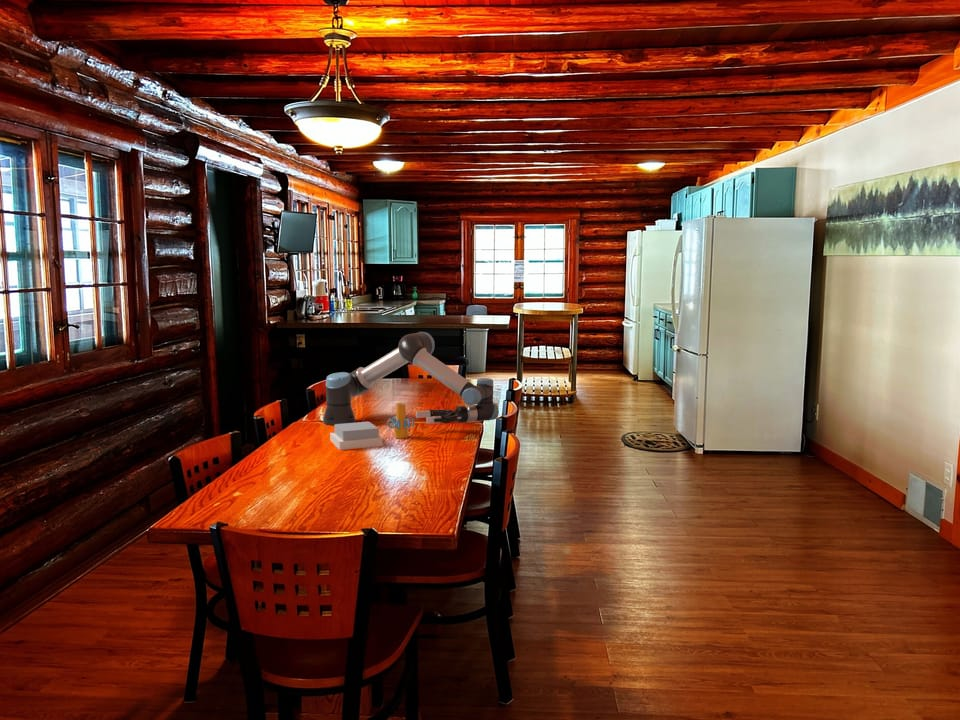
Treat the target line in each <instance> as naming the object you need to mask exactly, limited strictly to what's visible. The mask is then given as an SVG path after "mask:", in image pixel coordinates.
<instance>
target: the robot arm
mask: <svg viewBox="0 0 960 720" xmlns="http://www.w3.org/2000/svg"><path fill="white" fill-rule="evenodd" d="M434 350H435V340H434V337H432V335H431V334H430V333H428V332H425V331H418V332H416V333H415V332H414V333H408V334H406V335H404V336H402V337H401V339H400V340H399V342H398V346H397V348H394V349H393V350H392V351H390V352H389V353H386V354H385V355H384V356H382V357H380V358H379V359H377V360H375V361H373V362H372V363H370V364H369V365H367V366H366V367H362V366H360V367H358V368H356V369H355V370H353V371H352V372H345V371H342V372H341V371H340V372H334V373H331V374H329V375H327V376H326V379H325V398H326V399H325V400H326V401H325V402H326V406H325V407H326V408H325V411H324V414H323V419H322V423H323V424H324V425H329V426H335V424H345V423H356V416H355V414H354V410H353V407H352V398H355V397H359V396H362V395H364V394H366V393H367V392H368V391H369V390H370V389H372V388H373V387H374V383H375V382H378V381H379V380H381V379H382V378H384V377H386V376H388V375H389V374H392V372H393V373H394V372H395V371H396V370H398V369H399V368H401V367H403V366H404V365H406V364H408V363H409V364H410V365H412V366H414V367H415V366H417V367H418V368H420V369H422V371H425V372H426V373H427V374H428V375H430V376H431V377H433V378H435V379H436V380H437V381H439V382H440V383H442V385H444V386H445V387H447V388H449V389H450V390H451V391H453V392H454V393H456V394H457V395H458V396H460V397H461V399H462V401H463V403H464V404H465V405H459V406H456V407H455V410H452V409H429V410H422V411H416V413H415V415H416V416H415V417H416V419H421V418H425V419H426V424H427V425H428V424H429V425H430V424H439V423H442V424H443V423H444V424H451V423H454V422H457V423H458V424H462V423H463V424H464V423H470V424H473V422H484V421H485V422H486V421H487V422H488V421H493V420H497V419H498V417H499V415H500V413H499V411H500V410H499V406H498V404H497V403H494V389H495V388H494V380H493V378H490V377H489V378H487V377H483V378H482V377H481V378H478V379H477V380H476V385H475V384H474V383H472V382H471V381H469V380H468V379H466V378H465V377H463V376H462V375H460V374H459V373H458V372H456V371H455V370H454V369H452V368H451V367H449V366H448V365H446V364H445V363H443V362H442V361H440V360H439V359H438V358H437V357H435V356H433V355H432V354H433V352H434Z"/></svg>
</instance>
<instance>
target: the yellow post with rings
mask: <svg viewBox="0 0 960 720" xmlns="http://www.w3.org/2000/svg"><path fill="white" fill-rule="evenodd" d="M395 405H396V406H395V416H393V417H392V418H390V419H388V420H387V427H388V428H389V429H393V431H394V434H393V436H394V438H395V439H400V440H401V439H407V438H409V429H410V428H411V427H413V426H414V425H415V422H416V421H415V419H414V418H413V417H407V418H406V403H405V402H397V403H395ZM410 420H412V423H411V422H410ZM390 422H392V426H391V424H390Z"/></svg>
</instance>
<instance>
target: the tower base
mask: <svg viewBox="0 0 960 720" xmlns="http://www.w3.org/2000/svg"><path fill="white" fill-rule="evenodd" d="M329 440H330V442H331V443H332V444H333V445H334V446H335V447H336V448H337V449H338V450H340V451H342V450H344V451H345V450H352V449H363V448H365V449H366V448H374V447H383V437H382V436H380V435H379V438H369V439H359V440H348V441H343V440H342V439H340V438H339V437H338V436H337V435H336V434H335V432H330V433H329Z"/></svg>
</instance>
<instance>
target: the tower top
mask: <svg viewBox="0 0 960 720" xmlns="http://www.w3.org/2000/svg"><path fill="white" fill-rule="evenodd" d="M334 433H335V434H336V435H337V436H338V437H339V438H340V439H342V440H343V441H348V440H359V439H369V438H379V436H380V435H379V427H377V426H376V425H374V424H373V423H372V422H371V421H361V422H354V423H345V424H335V425H334Z"/></svg>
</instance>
